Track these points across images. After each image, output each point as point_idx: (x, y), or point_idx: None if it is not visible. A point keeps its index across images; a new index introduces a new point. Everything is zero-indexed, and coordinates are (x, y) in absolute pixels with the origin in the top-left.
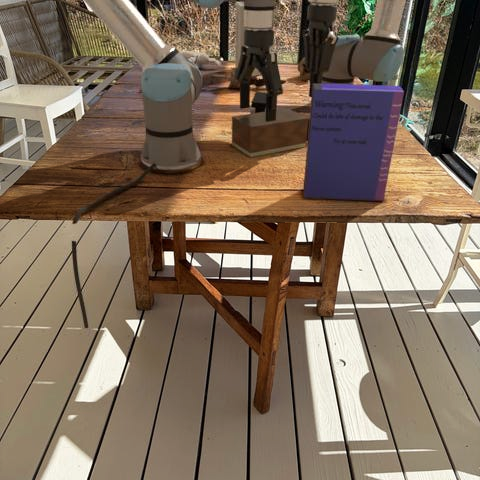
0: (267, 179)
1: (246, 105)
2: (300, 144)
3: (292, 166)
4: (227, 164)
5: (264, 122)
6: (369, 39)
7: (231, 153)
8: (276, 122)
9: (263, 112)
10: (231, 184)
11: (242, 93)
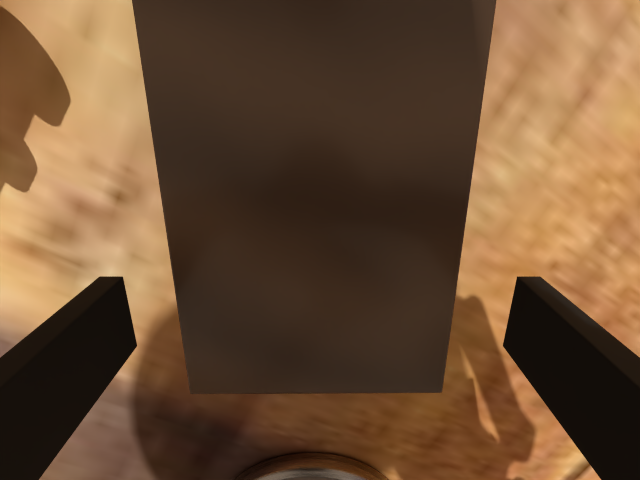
0: None
1: (118, 316)
2: None
3: (593, 196)
4: (416, 396)
5: (408, 283)
6: None
7: None
8: (454, 207)
9: (173, 157)
10: (564, 448)
11: (57, 439)
